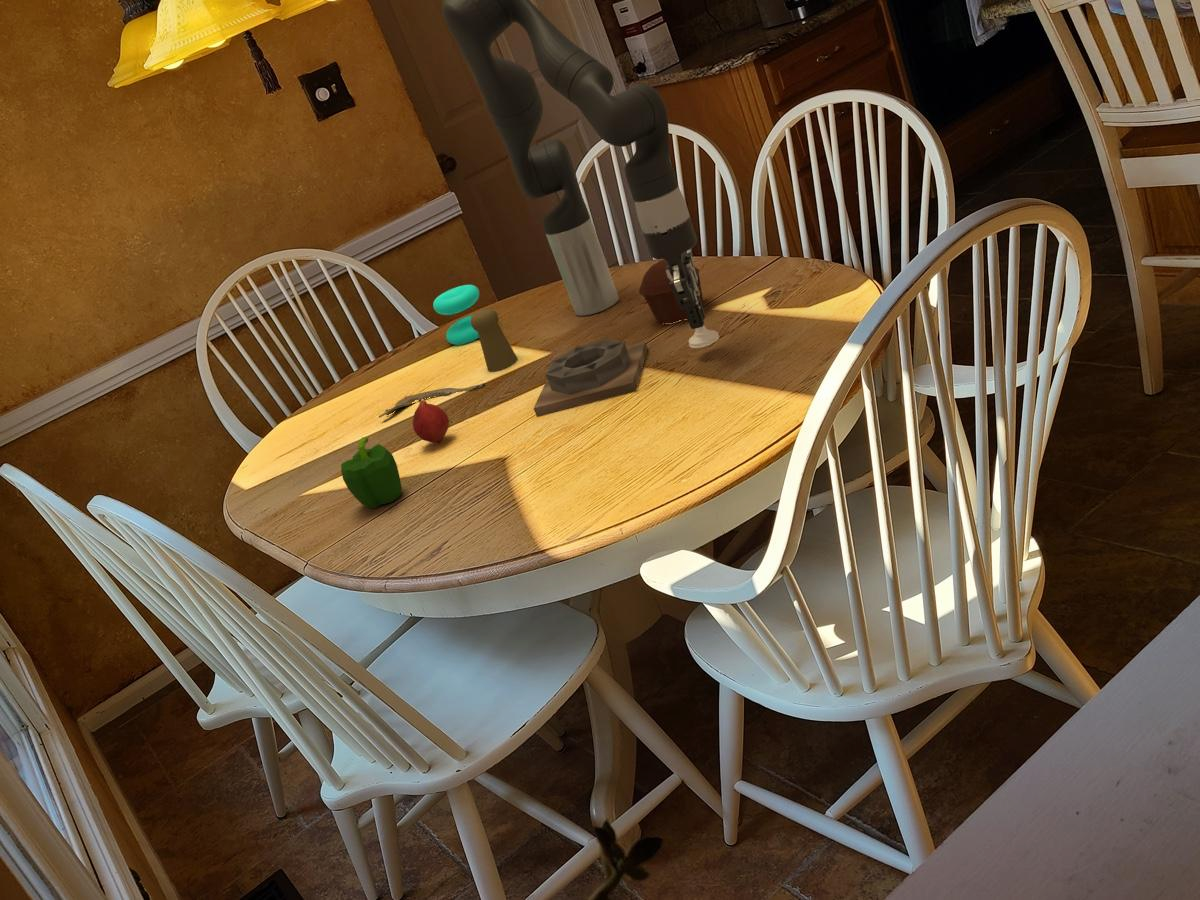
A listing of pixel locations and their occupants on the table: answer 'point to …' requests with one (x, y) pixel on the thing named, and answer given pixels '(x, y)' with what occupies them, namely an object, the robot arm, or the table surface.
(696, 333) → the chess piece
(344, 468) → the bell pepper
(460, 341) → the donuts
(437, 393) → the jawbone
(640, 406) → the table surface
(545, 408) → the collar socket
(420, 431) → the onion
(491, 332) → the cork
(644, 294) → the muffin
